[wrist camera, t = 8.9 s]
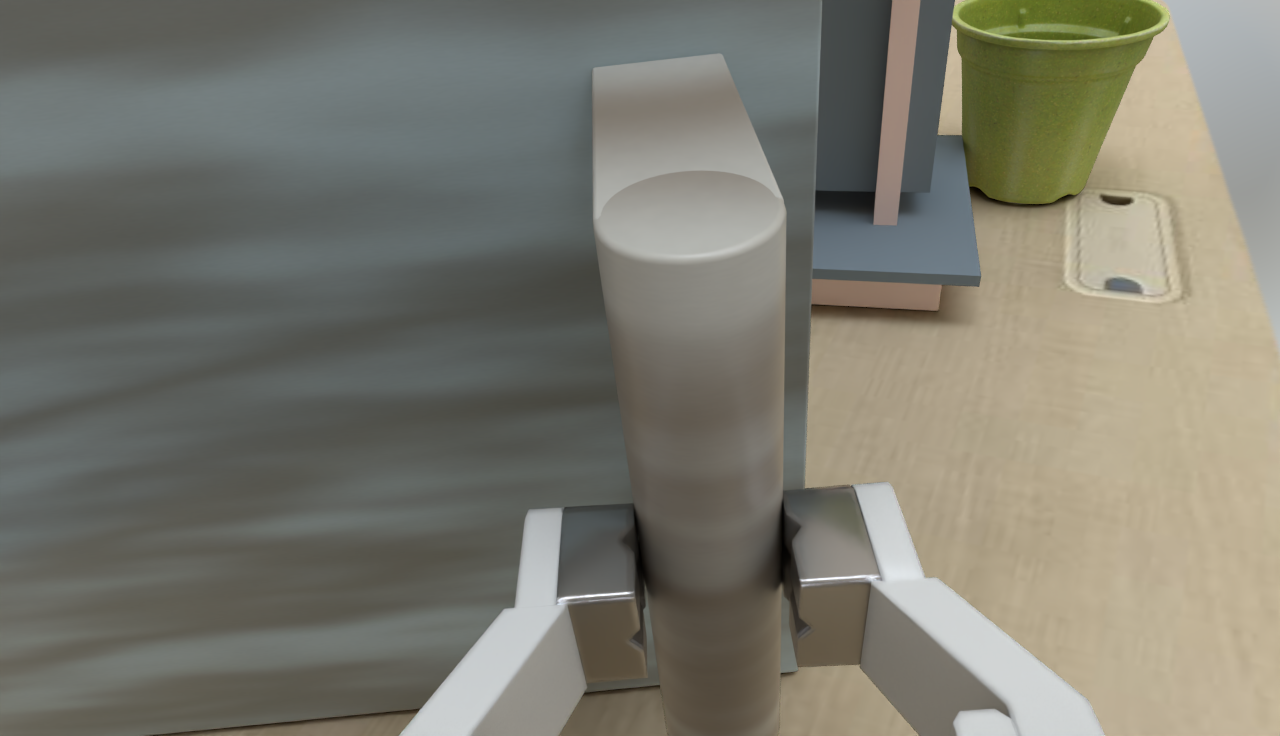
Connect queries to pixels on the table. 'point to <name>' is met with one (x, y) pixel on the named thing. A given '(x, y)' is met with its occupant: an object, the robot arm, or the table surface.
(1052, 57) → the plant pot
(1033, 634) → the table surface
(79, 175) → the cupboard door
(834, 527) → the robot arm
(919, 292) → the desk lamp
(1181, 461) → the table surface
